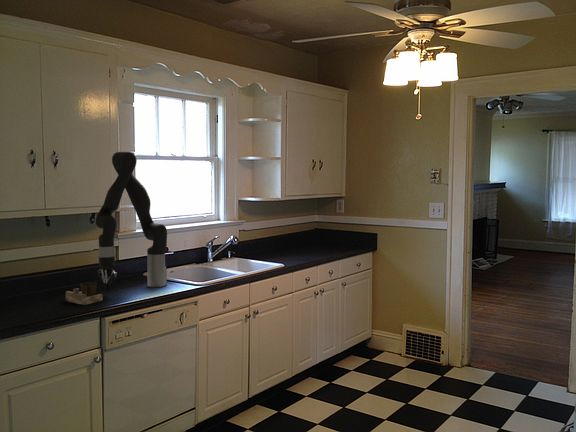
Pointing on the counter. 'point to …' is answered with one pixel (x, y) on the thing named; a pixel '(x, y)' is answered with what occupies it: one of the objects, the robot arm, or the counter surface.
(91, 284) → the cup
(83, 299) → the hub cradle
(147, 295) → the counter surface
